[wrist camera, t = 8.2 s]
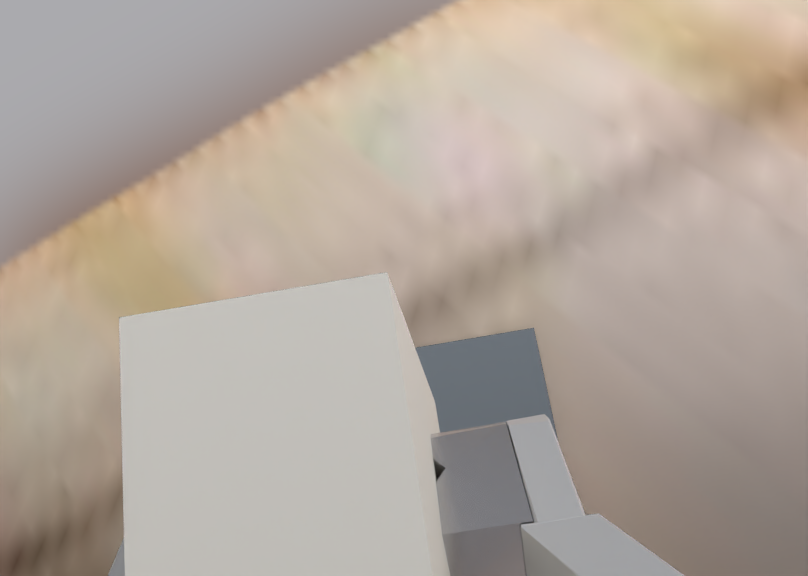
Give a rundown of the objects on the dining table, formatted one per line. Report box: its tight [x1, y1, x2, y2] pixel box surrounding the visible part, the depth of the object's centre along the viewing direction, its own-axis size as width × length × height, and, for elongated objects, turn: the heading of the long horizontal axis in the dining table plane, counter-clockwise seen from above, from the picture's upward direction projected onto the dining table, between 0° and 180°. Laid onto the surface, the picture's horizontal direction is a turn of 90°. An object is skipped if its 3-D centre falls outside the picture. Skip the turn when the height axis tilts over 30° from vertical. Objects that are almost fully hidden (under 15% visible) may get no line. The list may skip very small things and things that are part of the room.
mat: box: [415, 328, 558, 440], centre depth 24 cm, size 8×10×1 cm
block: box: [119, 272, 450, 576], centre depth 8 cm, size 2×4×9 cm, turn 9°
